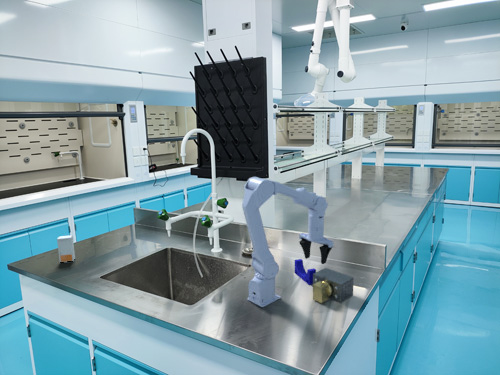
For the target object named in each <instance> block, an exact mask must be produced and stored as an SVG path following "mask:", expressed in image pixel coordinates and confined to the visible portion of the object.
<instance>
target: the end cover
mask: <svg viewBox="0 0 500 375" xmlns="http://www.w3.org/2000/svg"><path fill="white" fill-rule="evenodd" d="M331 294H332V284H330V283H328V282H326V281H322V282H321V281H319V282H317V283H315V284H312V300H314V301H315V302H318V303H319V304H323V303H325V302H327V301H328V300H329V296H330V295H331Z"/></svg>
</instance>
